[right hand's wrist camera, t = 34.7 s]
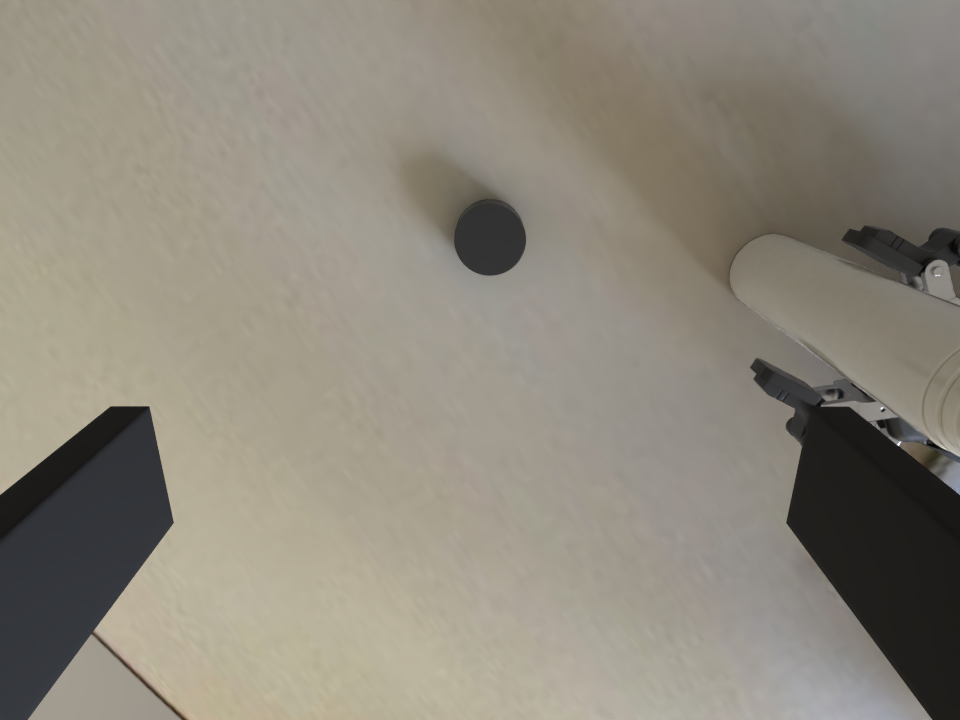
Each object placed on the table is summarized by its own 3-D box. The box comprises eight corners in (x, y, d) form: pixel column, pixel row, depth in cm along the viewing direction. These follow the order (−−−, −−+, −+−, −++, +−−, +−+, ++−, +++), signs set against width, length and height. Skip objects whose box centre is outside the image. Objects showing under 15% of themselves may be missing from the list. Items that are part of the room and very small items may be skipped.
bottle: (822, 262, 41) (1281, 462, 17) (768, 322, 42) (1124, 582, 19) (766, 218, 40) (1171, 366, 16) (713, 281, 41) (1013, 500, 18)
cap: (448, 209, 40) (445, 214, 38) (514, 191, 39) (516, 195, 37) (466, 274, 41) (465, 283, 39) (530, 257, 41) (533, 265, 39)
